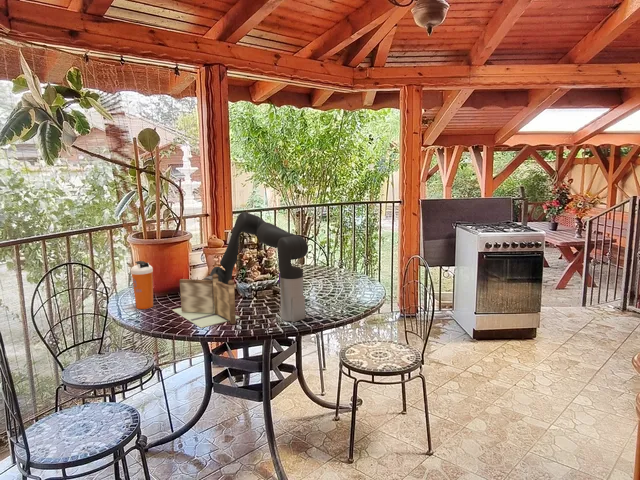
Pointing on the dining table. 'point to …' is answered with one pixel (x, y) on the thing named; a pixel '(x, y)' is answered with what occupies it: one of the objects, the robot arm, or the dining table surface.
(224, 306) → the panel
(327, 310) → the dining table surface
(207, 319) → the card
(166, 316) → the dining table surface
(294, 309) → the robot arm
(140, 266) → the shaker bottle
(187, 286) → the fence panel
